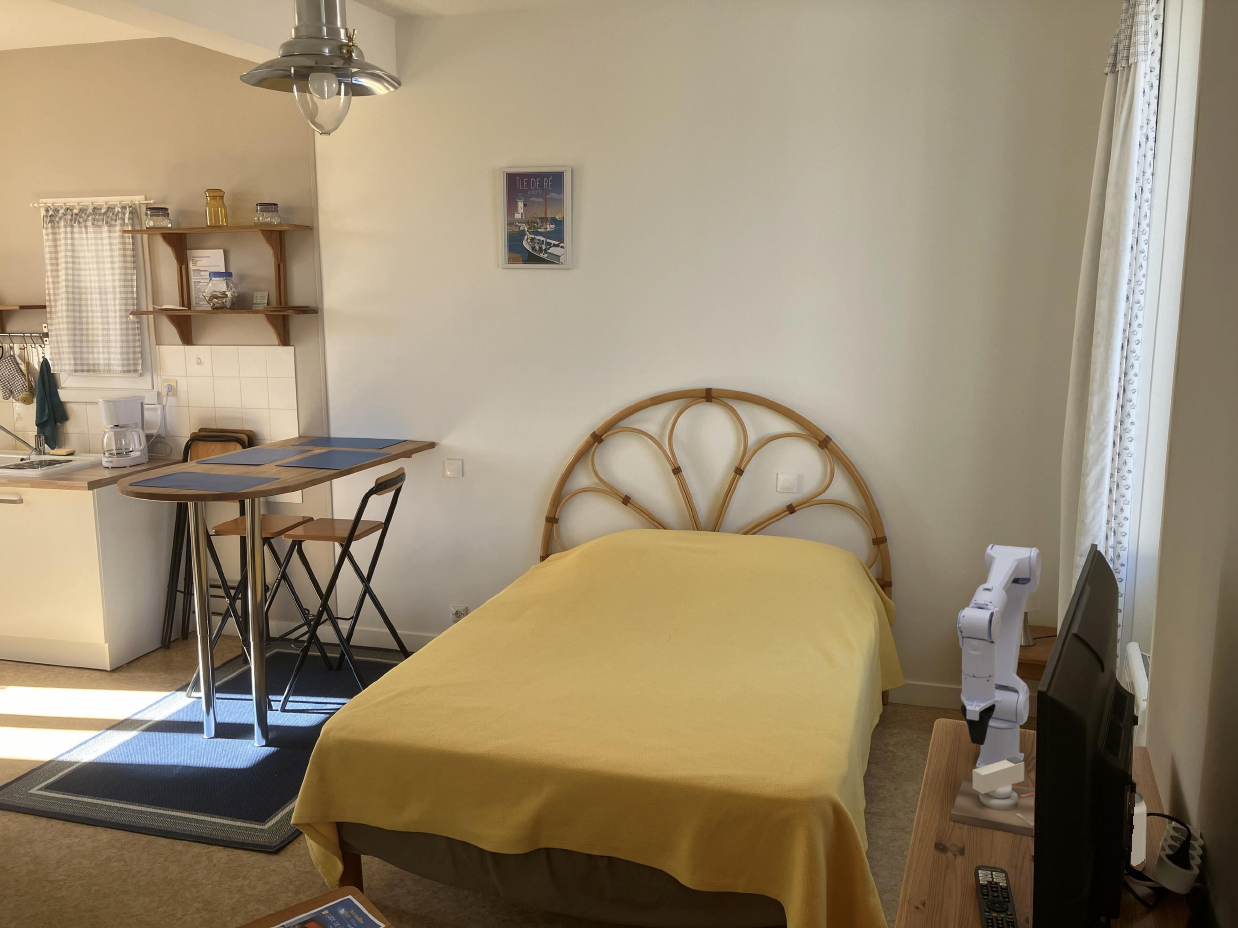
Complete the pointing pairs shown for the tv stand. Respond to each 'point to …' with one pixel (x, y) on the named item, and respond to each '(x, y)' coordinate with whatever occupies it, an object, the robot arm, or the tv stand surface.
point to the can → (1139, 830)
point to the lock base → (995, 809)
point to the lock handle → (999, 777)
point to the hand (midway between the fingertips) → (978, 742)
